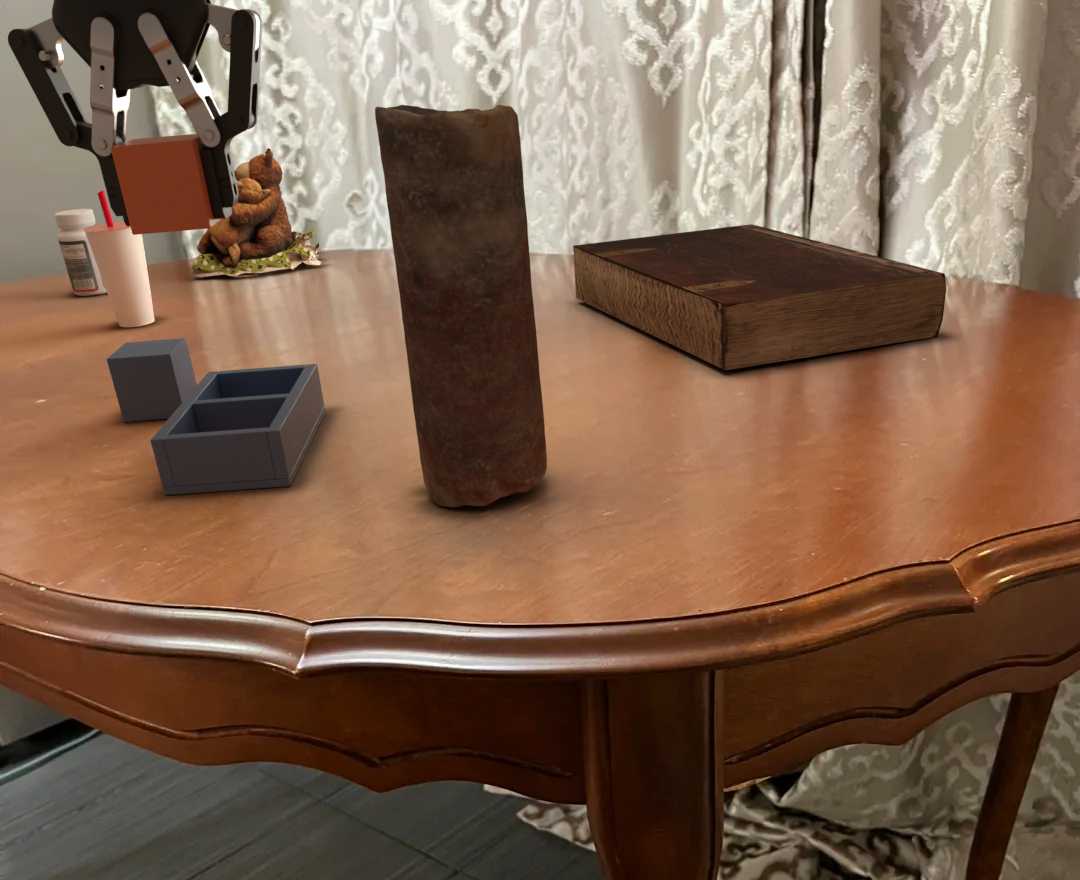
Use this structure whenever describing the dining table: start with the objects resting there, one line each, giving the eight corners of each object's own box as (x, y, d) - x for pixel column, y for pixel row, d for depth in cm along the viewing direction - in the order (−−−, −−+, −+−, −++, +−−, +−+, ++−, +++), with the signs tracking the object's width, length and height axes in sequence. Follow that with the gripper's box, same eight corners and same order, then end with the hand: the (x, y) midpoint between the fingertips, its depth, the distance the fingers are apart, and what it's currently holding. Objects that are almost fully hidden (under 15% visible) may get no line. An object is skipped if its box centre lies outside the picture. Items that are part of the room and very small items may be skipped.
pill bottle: (107, 285, 128) (86, 206, 124) (123, 290, 125) (103, 209, 121) (67, 293, 126) (44, 213, 122) (82, 298, 123) (60, 216, 118)
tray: (164, 495, 68) (149, 439, 66) (219, 420, 81) (207, 371, 79) (290, 486, 68) (279, 430, 66) (325, 412, 81) (317, 363, 79)
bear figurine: (198, 263, 137) (174, 152, 130) (321, 250, 139) (303, 140, 132) (189, 284, 125) (162, 164, 119) (323, 270, 127) (303, 151, 121)
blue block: (123, 422, 82) (106, 358, 80) (141, 403, 86) (125, 342, 83) (185, 417, 82) (169, 354, 79) (200, 399, 86) (186, 337, 83)
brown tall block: (425, 470, 69) (377, 101, 58) (543, 460, 69) (517, 90, 58) (423, 517, 62) (369, 112, 52) (553, 505, 62) (526, 99, 52)
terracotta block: (132, 235, 65) (109, 146, 62) (153, 222, 69) (133, 138, 66) (210, 228, 65) (191, 139, 62) (227, 216, 69) (210, 132, 66)
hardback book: (940, 335, 86) (948, 267, 84) (724, 375, 81) (726, 304, 79) (752, 274, 110) (754, 219, 107) (576, 302, 105) (573, 245, 102)
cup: (100, 325, 111) (64, 193, 104) (151, 314, 113) (119, 184, 107) (121, 332, 107) (85, 196, 101) (173, 321, 110) (141, 187, 103)
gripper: (-71, -133, 54) (39, 241, 64) (219, -160, 54) (288, 221, 63) (-10, -118, 61) (82, 221, 70) (250, -142, 60) (308, 201, 70)
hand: (179, 219), depth 66 cm, fingers closed on terracotta block, 4 cm apart
